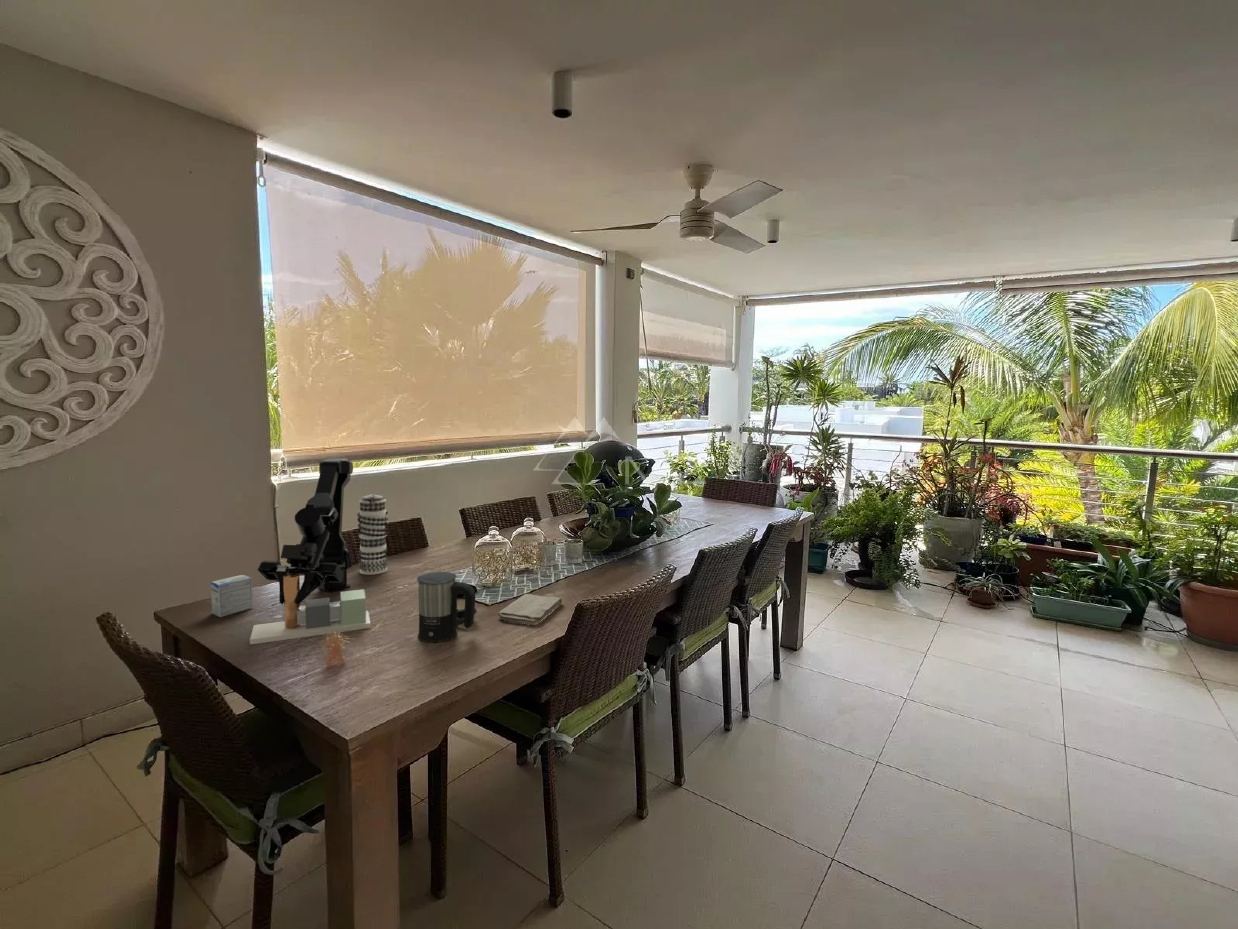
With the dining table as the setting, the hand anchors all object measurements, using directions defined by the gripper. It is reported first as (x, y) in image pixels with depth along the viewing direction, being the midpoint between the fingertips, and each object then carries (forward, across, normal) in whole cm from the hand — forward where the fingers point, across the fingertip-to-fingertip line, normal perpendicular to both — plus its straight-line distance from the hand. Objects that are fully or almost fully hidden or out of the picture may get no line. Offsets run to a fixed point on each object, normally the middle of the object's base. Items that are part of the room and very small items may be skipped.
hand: (288, 603), depth 136 cm
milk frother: (+2, +36, +9) cm, 38 cm away
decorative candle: (-30, 0, +41) cm, 51 cm away
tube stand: (+3, +4, +8) cm, 9 cm away
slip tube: (+1, +6, +7) cm, 9 cm away
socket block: (-1, +12, +10) cm, 15 cm away
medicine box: (-4, -22, +15) cm, 27 cm away
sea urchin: (+16, +18, -5) cm, 25 cm away
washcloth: (-7, +56, +19) cm, 59 cm away
